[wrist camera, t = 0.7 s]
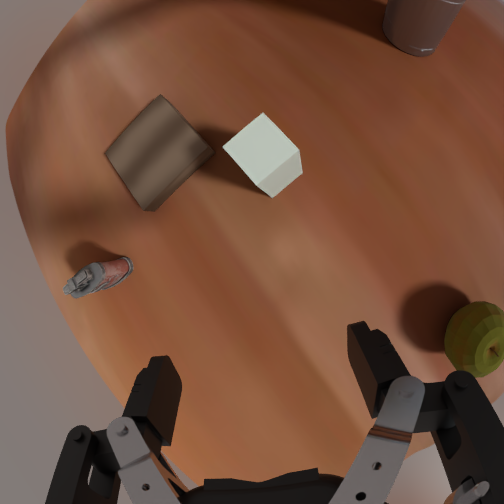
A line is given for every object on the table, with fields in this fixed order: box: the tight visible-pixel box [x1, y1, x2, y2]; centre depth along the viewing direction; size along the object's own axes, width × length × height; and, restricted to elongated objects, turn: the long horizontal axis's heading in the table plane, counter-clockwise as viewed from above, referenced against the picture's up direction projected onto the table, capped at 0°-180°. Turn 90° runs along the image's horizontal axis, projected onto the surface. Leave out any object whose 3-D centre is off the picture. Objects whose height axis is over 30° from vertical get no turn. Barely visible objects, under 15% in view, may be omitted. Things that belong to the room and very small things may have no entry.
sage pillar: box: [223, 113, 303, 198], centre depth 30 cm, size 5×5×11 cm
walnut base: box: [105, 94, 215, 212], centre depth 37 cm, size 12×12×3 cm
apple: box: [444, 302, 504, 377], centre depth 26 cm, size 10×10×11 cm
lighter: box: [63, 257, 133, 298], centre depth 37 cm, size 8×3×10 cm, turn 119°
